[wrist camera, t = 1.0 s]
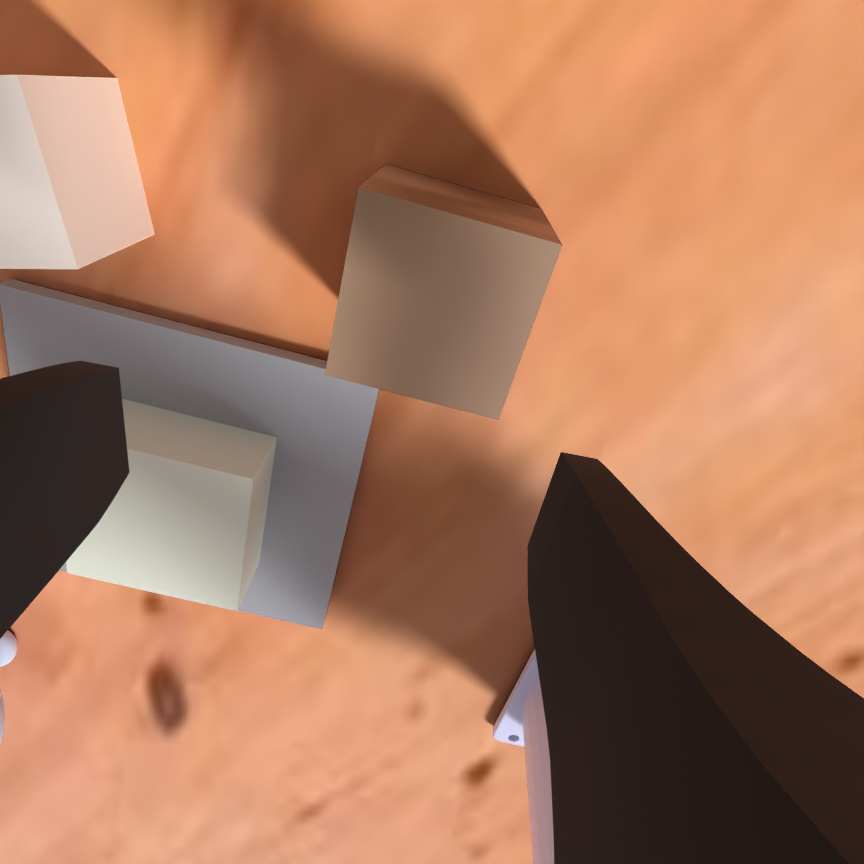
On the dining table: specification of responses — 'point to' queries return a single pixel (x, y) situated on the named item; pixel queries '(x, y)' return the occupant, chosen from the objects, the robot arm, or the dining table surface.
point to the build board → (225, 421)
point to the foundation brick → (183, 509)
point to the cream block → (66, 173)
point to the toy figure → (4, 653)
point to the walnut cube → (439, 290)
